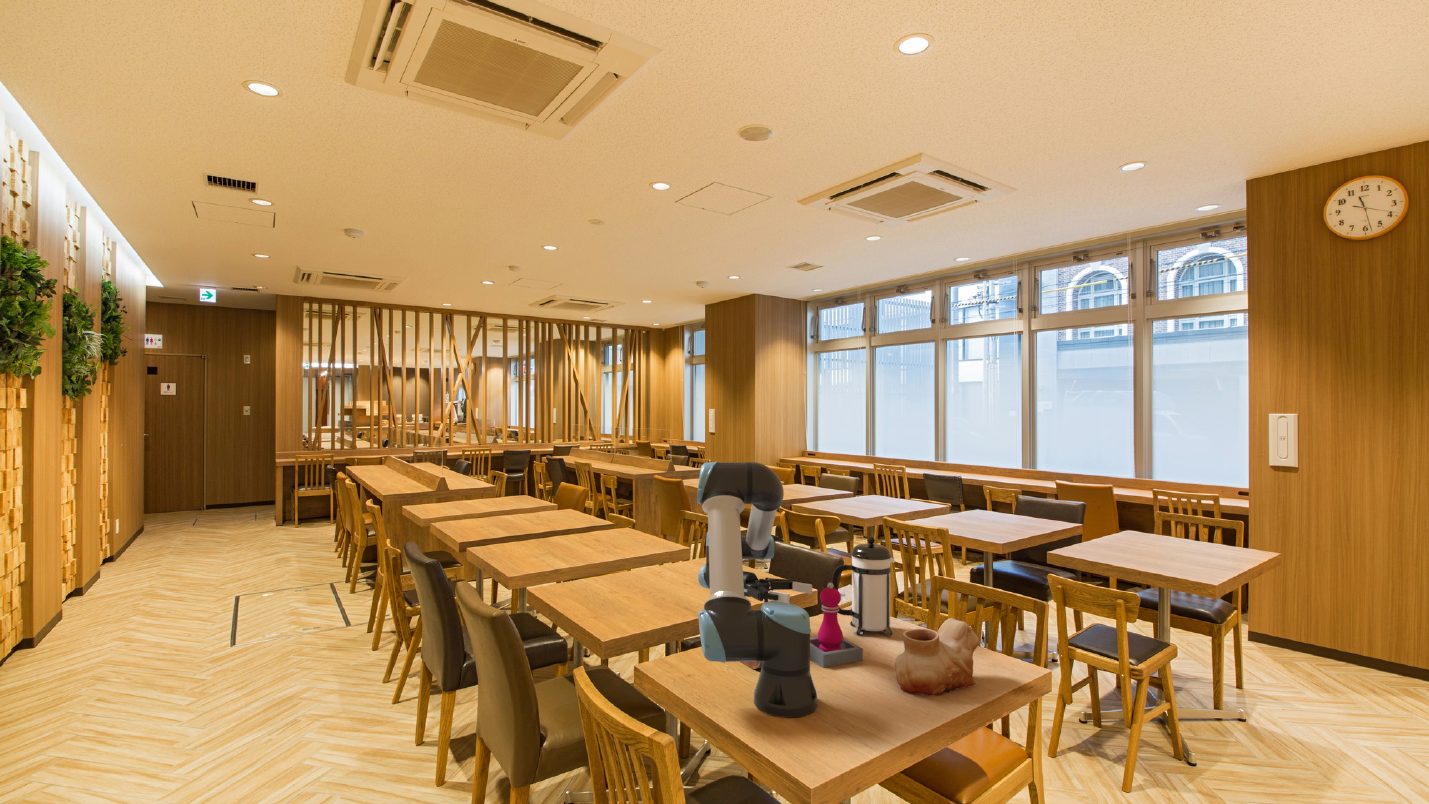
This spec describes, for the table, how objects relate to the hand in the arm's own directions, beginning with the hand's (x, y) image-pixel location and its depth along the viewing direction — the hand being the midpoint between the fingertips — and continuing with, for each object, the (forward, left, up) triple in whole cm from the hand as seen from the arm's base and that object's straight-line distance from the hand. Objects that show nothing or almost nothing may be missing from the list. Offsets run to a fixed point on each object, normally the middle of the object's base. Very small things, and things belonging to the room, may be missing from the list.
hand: (800, 594), depth 195 cm
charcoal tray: (+5, -9, -16) cm, 19 cm away
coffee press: (+28, +5, -16) cm, 33 cm away
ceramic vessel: (+21, -35, -16) cm, 44 cm away
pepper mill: (+5, -9, -15) cm, 18 cm away
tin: (-19, -5, -16) cm, 26 cm away
